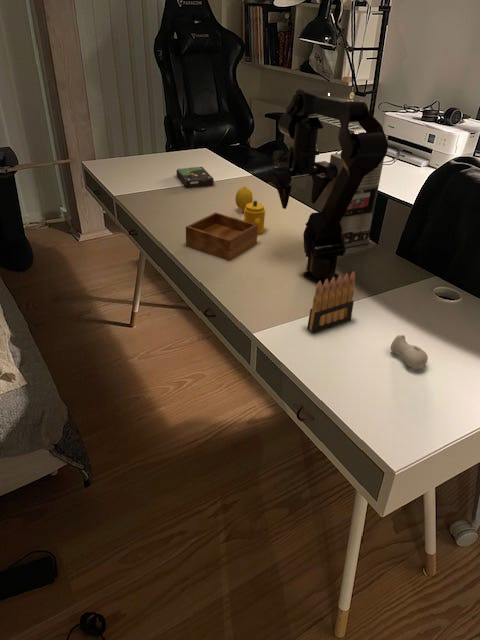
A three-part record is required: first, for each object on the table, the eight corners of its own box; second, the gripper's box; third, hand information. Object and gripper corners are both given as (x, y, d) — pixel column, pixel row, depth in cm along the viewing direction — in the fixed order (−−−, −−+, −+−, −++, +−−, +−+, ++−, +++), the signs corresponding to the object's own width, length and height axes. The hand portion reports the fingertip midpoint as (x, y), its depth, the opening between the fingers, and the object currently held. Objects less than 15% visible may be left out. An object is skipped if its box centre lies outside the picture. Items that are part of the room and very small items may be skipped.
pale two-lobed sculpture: (427, 374, 97) (409, 373, 95) (401, 350, 103) (383, 349, 101) (438, 356, 95) (420, 355, 93) (411, 332, 101) (393, 331, 99)
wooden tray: (256, 243, 142) (258, 224, 139) (229, 260, 132) (229, 240, 129) (215, 229, 148) (215, 212, 145) (186, 245, 139) (185, 226, 136)
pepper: (267, 233, 148) (269, 204, 143) (247, 235, 146) (248, 205, 141) (259, 225, 153) (261, 196, 148) (240, 227, 151) (241, 198, 146)
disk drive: (214, 186, 181) (202, 173, 193) (214, 178, 180) (202, 166, 191) (186, 188, 178) (175, 175, 190) (186, 180, 177) (175, 167, 188)
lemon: (250, 215, 159) (251, 190, 155) (233, 213, 160) (234, 188, 156) (253, 208, 164) (255, 184, 159) (237, 207, 165) (237, 183, 160)
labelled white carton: (330, 252, 139) (344, 160, 125) (318, 243, 143) (330, 154, 130) (369, 243, 144) (387, 155, 131) (356, 235, 149) (372, 149, 135)
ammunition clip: (312, 333, 105) (319, 283, 99) (306, 329, 107) (313, 279, 100) (350, 320, 110) (360, 272, 104) (345, 316, 111) (354, 268, 105)
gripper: (315, 133, 133) (309, 191, 141) (255, 140, 124) (252, 201, 133) (343, 143, 125) (334, 204, 133) (280, 151, 116) (275, 215, 125)
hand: (298, 205), depth 131 cm, fingers open, 9 cm apart
